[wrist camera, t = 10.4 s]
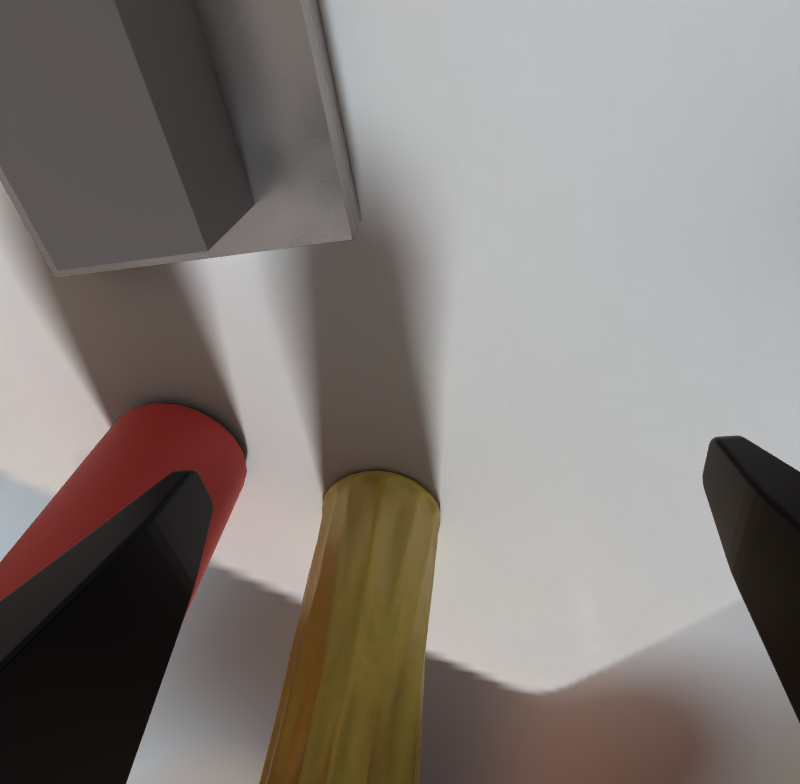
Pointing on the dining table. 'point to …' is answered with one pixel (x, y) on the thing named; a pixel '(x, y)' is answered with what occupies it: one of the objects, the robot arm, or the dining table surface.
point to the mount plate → (269, 130)
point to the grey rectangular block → (116, 130)
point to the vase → (360, 640)
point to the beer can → (132, 483)
